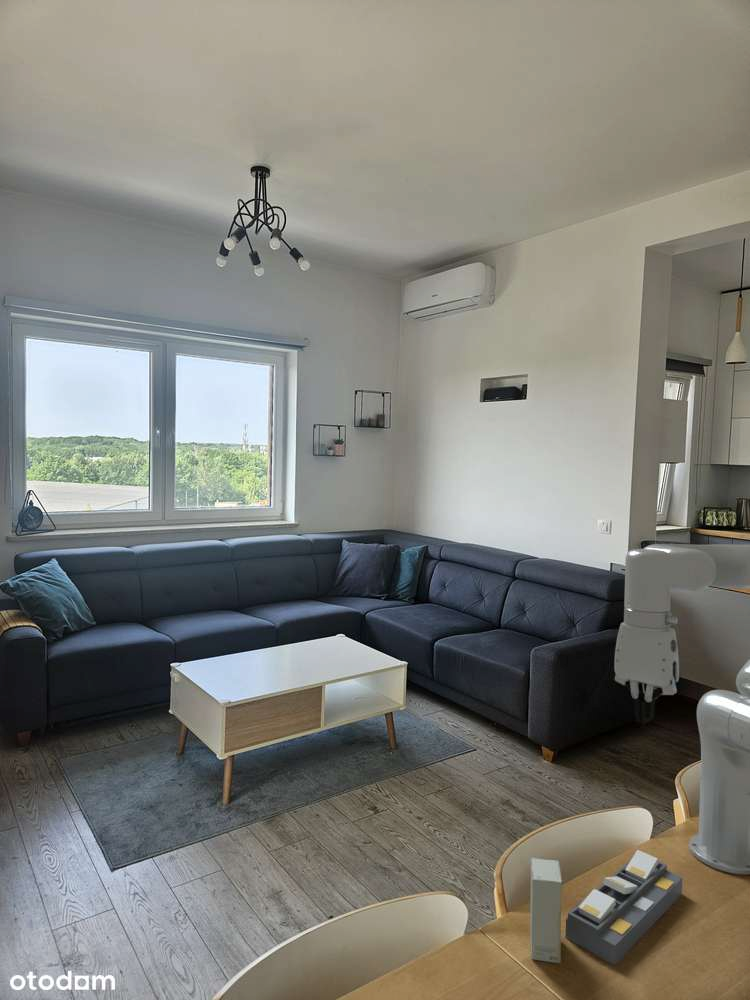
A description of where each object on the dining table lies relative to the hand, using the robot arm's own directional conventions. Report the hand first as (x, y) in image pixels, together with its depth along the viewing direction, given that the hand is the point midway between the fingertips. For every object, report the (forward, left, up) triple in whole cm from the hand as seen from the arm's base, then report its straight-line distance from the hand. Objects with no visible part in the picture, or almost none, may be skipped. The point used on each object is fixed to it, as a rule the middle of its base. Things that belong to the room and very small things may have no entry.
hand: (643, 720), depth 116 cm
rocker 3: (+3, +2, -25) cm, 25 cm away
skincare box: (+28, -2, -29) cm, 40 cm away
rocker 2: (+11, +2, -25) cm, 27 cm away
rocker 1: (+19, +2, -25) cm, 31 cm away
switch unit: (+11, +3, -29) cm, 31 cm away
